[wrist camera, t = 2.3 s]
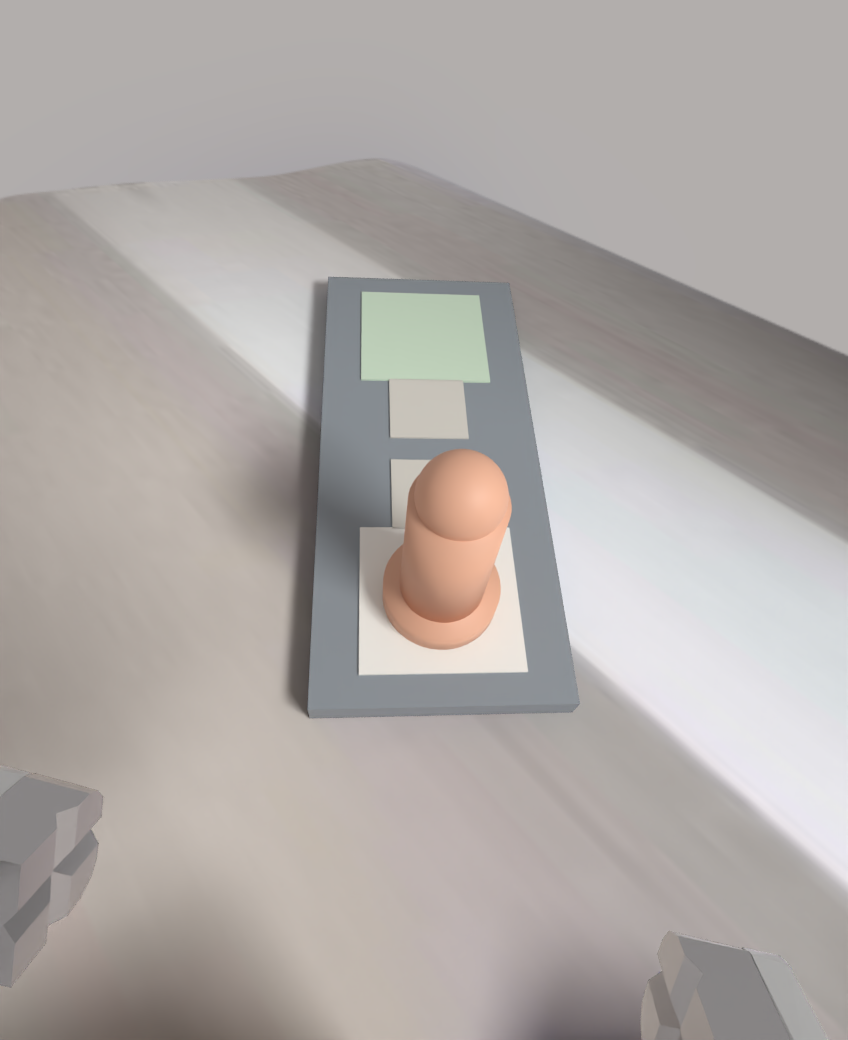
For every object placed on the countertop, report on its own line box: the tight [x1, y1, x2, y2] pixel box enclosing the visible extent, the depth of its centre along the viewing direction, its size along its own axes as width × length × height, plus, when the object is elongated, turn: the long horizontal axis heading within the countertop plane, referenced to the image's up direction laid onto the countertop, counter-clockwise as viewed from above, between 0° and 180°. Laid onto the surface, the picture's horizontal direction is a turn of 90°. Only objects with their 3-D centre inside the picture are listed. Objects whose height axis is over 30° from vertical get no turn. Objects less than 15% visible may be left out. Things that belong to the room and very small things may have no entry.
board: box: [308, 277, 580, 718], centre depth 34 cm, size 11×26×1 cm, turn 3°
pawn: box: [383, 449, 512, 650], centre depth 25 cm, size 5×5×9 cm
